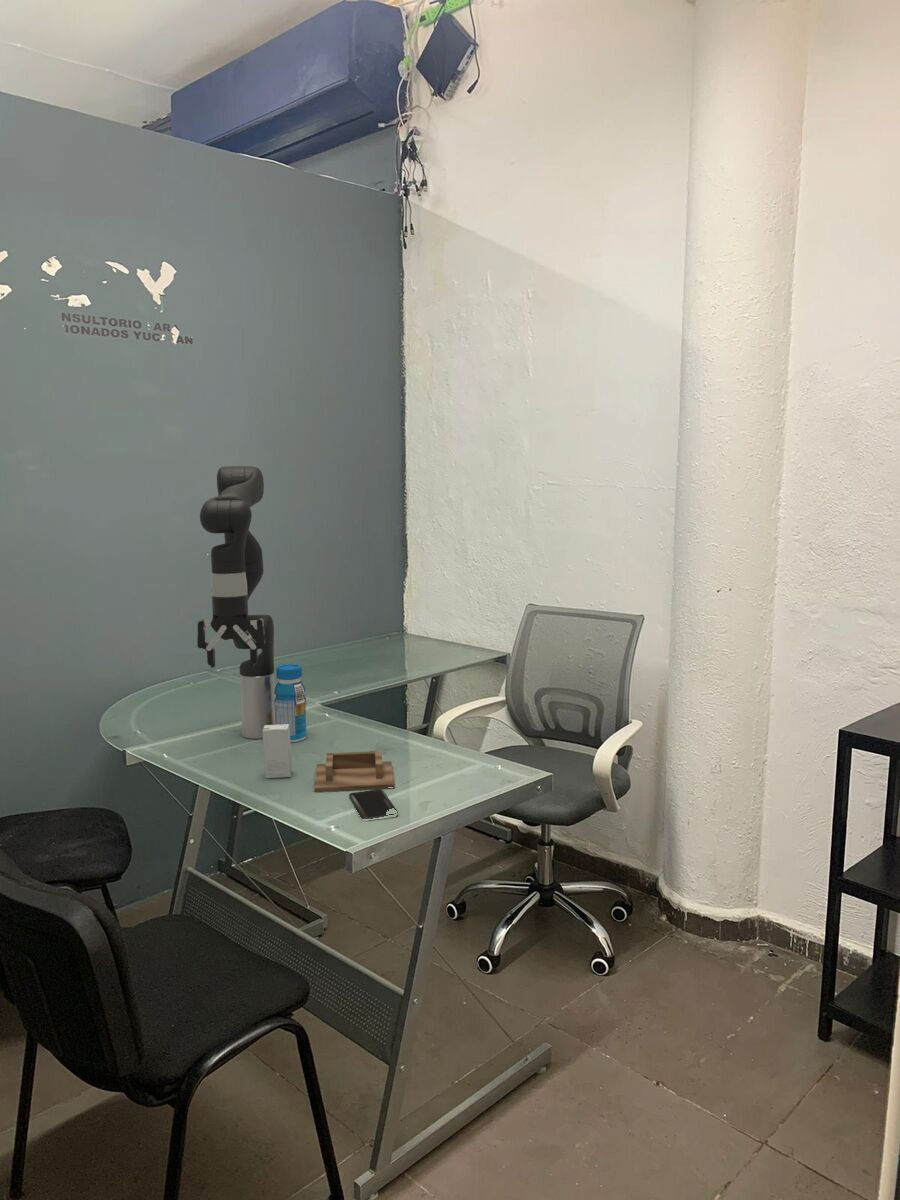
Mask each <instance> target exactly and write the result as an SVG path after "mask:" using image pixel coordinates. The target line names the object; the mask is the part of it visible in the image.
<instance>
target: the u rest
mask: <svg viewBox="0 0 900 1200" xmlns="http://www.w3.org/2000/svg"><path fill="white" fill-rule="evenodd" d="M325 759H326V760H325V763H320V764H319V763H318V764H316V772H315V778H314V787H313V788H314V789H313V791H314V793H321V792H323V793H326V792H345V791H349V792H350V791H368V790H367V789H371V790H380V789H379V788H388V787H394V788H395V781H394V779H395V778H394V771H393V764H392V761H391V760H389V761H387V760H386V761H383V757H382V750H376V751H375V750H374V751H355V752H354V751H351V752H350V751H349V752H329V753H328V752H326V758H325Z"/></svg>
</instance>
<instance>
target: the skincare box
mask: <svg viewBox="0 0 900 1200" xmlns="http://www.w3.org/2000/svg"><path fill="white" fill-rule="evenodd" d="M262 732H263V738H262V741H263V743H262V744H263V745H262V746H263V755H264V756H263V759H264V776H265V779H276V778H277V779H279V778H291V776H292V774H293V766H292V765H293V764H292V749H291V742H290V727H289V724H282V725H265V726H264V728H263V731H262Z"/></svg>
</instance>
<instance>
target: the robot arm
mask: <svg viewBox="0 0 900 1200" xmlns="http://www.w3.org/2000/svg"><path fill="white" fill-rule="evenodd" d="M216 488H217V495H216V496H214V497H212V498H209V499H207V500H206V501H205V502H204V503H203V504H202V506H201V509H200V512H199V521H200V525H201V526H202V528H203V529H204V530H205V531H206V532H208V533H210V534H224V536H223V537H224V543H222V544H218V545H217V544H216V545H215V546H213V547H212V548H211V550H210V559H211V560H210V562H211V580H210V586H211V588H210V593H211V607H212V608H211V609H212V619H211V620H205V619H200V620H199V621H198V622H197V648H198V649H202V650H205V651H206V659H207V660H206V661H207V666H210V669H211V668H215V667H216V650H215V649H214V647H215V646H216V644H218V641H219V640H220V639H221V640H223V641H228V640H232V641H233V645H234V646H235V648H236V649H238V650H249V657H250V658H249V659H247V660H244V661H242V662H241V663H240V664H239V682H240V683H239V686H240V687H239V688H240V704H241V705H240V708H241V709H240V710H241V729H242V733H241V735H242V736H243V738H246V739H251V740H253V739H254V740H255V739H256V740H257V739H263V732H262V731H263V728H264V726H265V725H276V720H275V705H274V699H275V697H276V695H275V693H274V690H275V687H276V680H275V657H274V641H275V640H274V639H275V637H274V636H275V627H274V619H273V618H272V616H271V615H269V614H249V600H250V597H251V595H252V594H253V592H254V591H255V590H256V588H257V586H258V585H259V583H260V582H261V580H262V577H263V575H264V559H263V558H264V557H263V550H262V547H261V544H260V543H259V541H258V540H257V538H256V537H255V536H254V535H253V533H251V532H250V530H249V529H250V526H251V522H252V518H253V517H252V515H253V514H252V509H251V508H252V507H253V506H255V505H256V504H258V503H260V502H261V501H262V498H263V497H264V492H265V481H264V475H263V472H262V470H261V469H260V468H259V467H257V466H252V465H249V466H248V465H244V466H243V465H241V466H240V465H237V466H236V465H235V466H234V465H232V466H231V465H230V466H228V465H227V466H221V467H220V468H219V469H218V471H217V473H216ZM209 627H211V628H212V629H213V631H214V632H215V635H214V636H213V637H212V639H210V641H209V642H207V641H206V631H207V630H208V629H209ZM258 650H261V652H260V653H258Z"/></svg>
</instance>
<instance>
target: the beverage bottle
mask: <svg viewBox="0 0 900 1200" xmlns="http://www.w3.org/2000/svg"><path fill="white" fill-rule="evenodd" d="M275 673H276V674H275V675H276V680H278V682H277V683H276V684H275V690H274V693H275V699H274V705H275V720H276V725H282V724H289V727H290V743H296V742H297V743H298V742H301V741H303V740H305V739H306V738H307V714H306V712H307V710H306V709H307V707H306V703H307V698H306V696H305V692H306V688H305V685H304V684H303V682H302V681H301V679H303V678H302V677H303V668H302V665H300V664H298V663H297V664H296V663H286V664H285V663H284V664H280V665H278V666H276V669H275Z"/></svg>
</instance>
